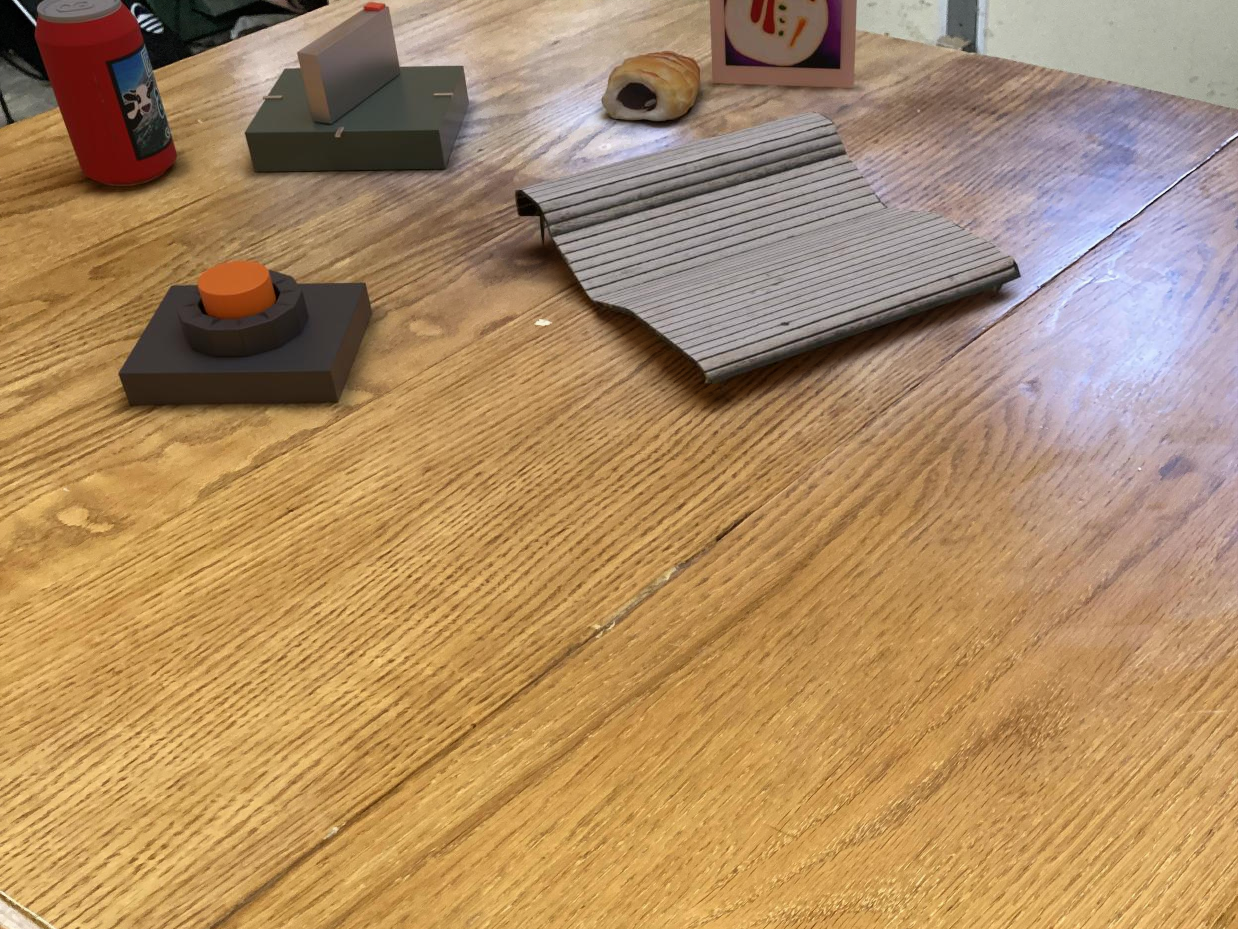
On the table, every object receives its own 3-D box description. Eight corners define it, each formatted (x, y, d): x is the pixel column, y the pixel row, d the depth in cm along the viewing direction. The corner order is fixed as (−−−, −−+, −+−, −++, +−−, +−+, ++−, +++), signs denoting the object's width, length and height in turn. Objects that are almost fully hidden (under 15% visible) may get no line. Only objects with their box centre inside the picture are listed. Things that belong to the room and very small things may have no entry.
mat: (707, 413, 80) (704, 339, 77) (519, 249, 95) (510, 182, 92) (1021, 294, 89) (1029, 224, 86) (805, 162, 104) (805, 98, 101)
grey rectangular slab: (331, 124, 103) (315, 51, 99) (312, 121, 103) (295, 48, 100) (401, 73, 110) (388, 2, 106) (382, 70, 110) (369, 0, 107)
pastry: (643, 74, 117) (640, 26, 114) (720, 84, 115) (720, 36, 112) (597, 119, 110) (593, 69, 108) (679, 130, 108) (677, 80, 106)
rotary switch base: (249, 179, 103) (237, 136, 101) (295, 100, 114) (285, 60, 112) (444, 176, 103) (437, 133, 101) (472, 97, 114) (466, 57, 112)
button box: (129, 406, 82) (107, 345, 79) (181, 316, 89) (162, 258, 86) (338, 403, 81) (323, 342, 79) (372, 313, 89) (359, 255, 86)
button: (196, 322, 81) (188, 295, 80) (216, 287, 84) (208, 260, 83) (266, 321, 81) (258, 294, 80) (283, 286, 84) (276, 259, 83)
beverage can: (184, 182, 103) (134, 11, 95) (86, 199, 101) (26, 27, 93) (176, 145, 108) (127, -20, 100) (82, 161, 106) (24, -6, 98)
